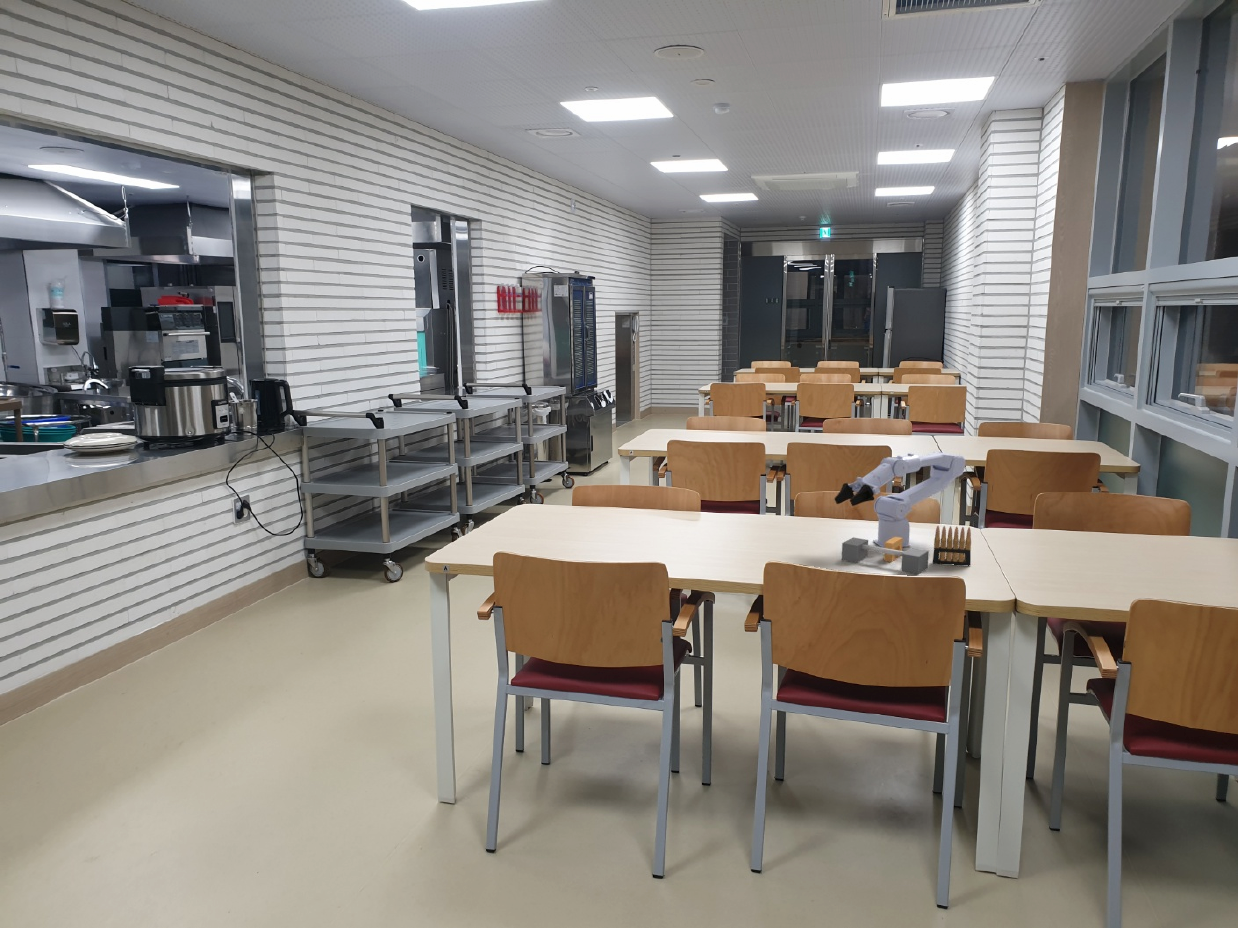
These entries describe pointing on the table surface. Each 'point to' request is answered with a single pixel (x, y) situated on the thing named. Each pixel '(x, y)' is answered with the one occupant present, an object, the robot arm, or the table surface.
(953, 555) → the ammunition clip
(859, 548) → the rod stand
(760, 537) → the table surface
